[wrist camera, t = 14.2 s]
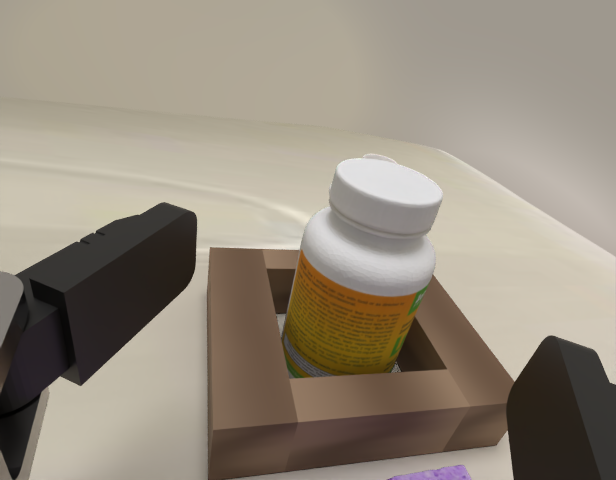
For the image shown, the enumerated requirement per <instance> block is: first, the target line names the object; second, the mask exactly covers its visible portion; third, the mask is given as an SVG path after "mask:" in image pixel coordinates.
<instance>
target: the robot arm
mask: <svg viewBox="0 0 616 480" xmlns="http://www.w3.org/2000/svg"><path fill="white" fill-rule="evenodd" d="M196 237H197V217H196V215H195V213H194V212H192V211H189V210H186V209H183V208H180V207H177V206H174V205H171V204H169V203H165V202H163V203H160V204H158V205H156V206H154V207H153V208H151V209H149V210H147V211H146V212H144V213H142V214H140V215H134V216H130V217H127V218H123V219H119V220H115V221H113V222H111V223H109V224H108V225H106V226H104V227H102V228H100V229H98V230H97V231H96V233H95V234H94V233H91V234H89V235H88V236H86V237H84V238H82V239H81V240H80V242H75V243H73V244H71V245H69V246H67V247H66V248H64V249H62V250H60V251H58V252H56V253H55V254H53V255H51V256H49V257H47V258H45V259H44V260H42V261H40V262H38V263H36V264H34V265H33V266H31V267H29V268H27V269H25V270H24V271H22V272H20V273H18V274H16V275H12V274H9V273H6V272H1V271H0V480H29V476H30V472H31V468H32V464H33V460H34V455H35V451H36V447H37V443H38V439H39V435H40V431H41V427H42V423H43V419H44V414H45V410H46V406H47V402H48V398H49V388H48V386H49V385H50V384H51V383H53V382H54V381H55V380H56V379H57V378H58V377H59V376H61V377H63V378H65V379H67V380H69V381H71V382H73V383H76V384H78V385H80V386H81V385H83V384H84V383H85V382H86V381H87V380H88V379H89V378H90V377H91V376H92V375H93V374H94V373H95V372H96V371H98V370H99V369H100V368H101V367H102V366H103V365H104V364H105V363H106V362H107V361H108V360H109V359H110V358H111V357H113V356H114V355H115V354H116V353H117V352H118V351H119V350H120V349H121V348H122V347H123V346H124V345H125V344H126V343H128V342H129V341H130V340H131V339H132V338H133V337H134V336H135V335H136V334H137V333H138V332H139V331H140V330H141V329H143V328H144V327H145V326H146V325H147V324H148V323H149V322H150V321H151V320H152V319H153V318H154V317H155V316H156V315H158V314H159V313H160V312H161V311H162V310H163V309H164V308H165V307H166V306H167V305H168V304H169V303H170V302H171V301H173V300H174V299H175V298H176V297H177V296H178V295H179V294H180V293H181V292H182V291H183V290H184V289H185V288H186V287H187V286H188V284H189V283H190V281H191V279H192V277H193V274H194V271H195V264H196ZM506 418H507V426H508V435H509V443H510V452H511V460H512V469H513V477H514V480H616V385H615V384H612V383H610V382H609V380H608V378H607V375H606V373H605V371H604V368H603V366H602V363H601V361H600V359H599V356H598V354H597V353H596V352H595V351H594V350H593V349H590V348H587V347H585V346H582V345H579V344H576V343H573V342H570V341H567V340H564V339H561V338H558V337H555V336H548V337H546V338H545V339H544V340H543V341H542V342H541V344H540V345H539V347H538V348H537V350H536V351H535V353H534V354H533V356H532V357H531V359H530V360H529V362H528V363H527V365H526V366H525V368H524V369H523V371H522V372H521V374H520V375H519V377H518V378H517V380H516V381H515V383H514V384H513V386H512V388H511V390H510V393H509V396H508V400H507V406H506Z"/></svg>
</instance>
